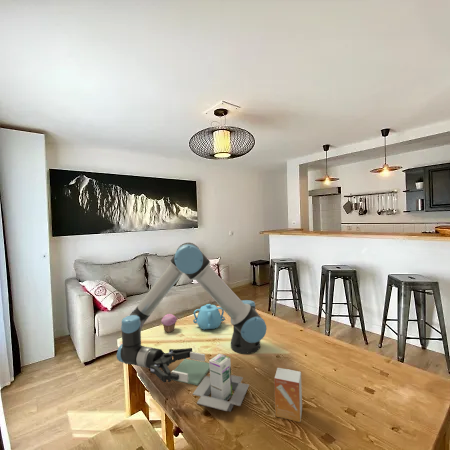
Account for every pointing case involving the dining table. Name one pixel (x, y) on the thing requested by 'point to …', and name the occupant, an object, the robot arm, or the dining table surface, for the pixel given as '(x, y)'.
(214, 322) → the decorative pot
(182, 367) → the mat
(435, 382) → the dining table surface
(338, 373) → the dining table surface
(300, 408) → the small box
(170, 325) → the cupcake
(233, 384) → the grey open box frame
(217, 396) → the syrup box
